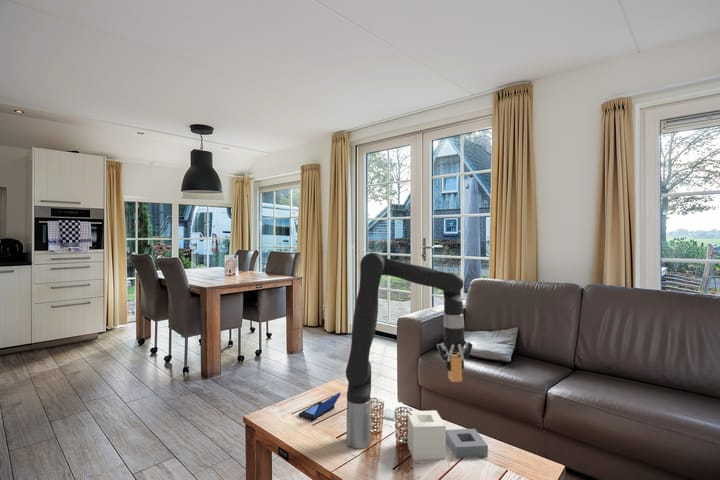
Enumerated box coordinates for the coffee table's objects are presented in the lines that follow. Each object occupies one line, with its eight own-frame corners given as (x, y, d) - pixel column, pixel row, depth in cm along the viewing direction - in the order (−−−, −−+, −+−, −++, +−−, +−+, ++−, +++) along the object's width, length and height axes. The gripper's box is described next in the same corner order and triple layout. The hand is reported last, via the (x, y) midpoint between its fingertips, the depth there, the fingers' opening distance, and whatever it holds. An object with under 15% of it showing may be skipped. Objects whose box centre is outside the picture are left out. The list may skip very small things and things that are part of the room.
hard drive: (370, 412, 166) (395, 418, 160) (377, 405, 173) (402, 410, 167) (370, 416, 166) (395, 422, 160) (377, 408, 173) (402, 414, 167)
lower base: (456, 457, 133) (456, 447, 133) (445, 439, 145) (445, 429, 145) (487, 456, 134) (487, 445, 134) (474, 438, 146) (474, 428, 146)
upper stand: (413, 460, 132) (413, 427, 132) (406, 441, 144) (406, 411, 144) (445, 458, 133) (445, 425, 133) (435, 440, 145) (436, 410, 145)
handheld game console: (319, 404, 177) (319, 385, 177) (341, 411, 170) (341, 391, 170) (297, 417, 164) (297, 396, 164) (319, 425, 157) (319, 404, 157)
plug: (451, 381, 137) (451, 358, 137) (448, 377, 141) (447, 354, 141) (462, 381, 137) (461, 357, 137) (458, 377, 141) (457, 354, 141)
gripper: (438, 328, 135) (439, 374, 135) (475, 326, 136) (477, 372, 136) (432, 323, 142) (434, 367, 142) (468, 322, 143) (469, 365, 143)
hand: (455, 369), depth 139 cm, fingers closed on plug, 4 cm apart
